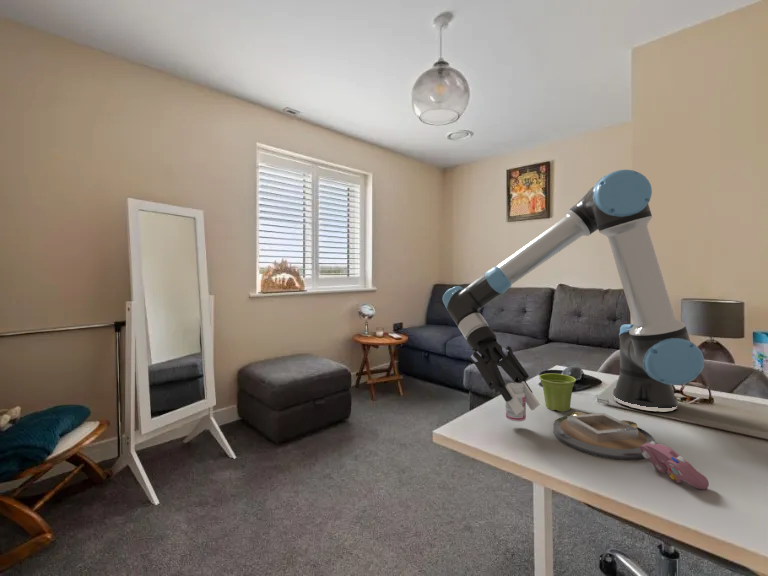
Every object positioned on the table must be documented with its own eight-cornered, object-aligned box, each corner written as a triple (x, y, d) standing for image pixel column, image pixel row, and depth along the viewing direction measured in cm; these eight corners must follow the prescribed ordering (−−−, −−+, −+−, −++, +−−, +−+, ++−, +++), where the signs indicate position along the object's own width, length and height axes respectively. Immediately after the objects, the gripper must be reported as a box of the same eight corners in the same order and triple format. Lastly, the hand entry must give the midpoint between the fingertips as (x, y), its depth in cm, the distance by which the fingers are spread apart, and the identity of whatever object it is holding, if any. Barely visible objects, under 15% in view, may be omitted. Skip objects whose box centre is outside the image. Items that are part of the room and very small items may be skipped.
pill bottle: (527, 422, 86) (526, 387, 86) (507, 421, 87) (506, 387, 87) (524, 414, 91) (523, 382, 91) (504, 414, 92) (503, 381, 92)
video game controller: (645, 471, 72) (631, 441, 71) (664, 459, 72) (650, 429, 71) (693, 501, 62) (676, 467, 61) (714, 488, 62) (698, 453, 62)
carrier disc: (606, 417, 94) (606, 404, 94) (680, 454, 74) (680, 437, 74) (536, 424, 91) (536, 410, 91) (593, 464, 71) (593, 446, 71)
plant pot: (554, 416, 96) (554, 384, 96) (532, 404, 105) (532, 374, 105) (584, 412, 98) (583, 380, 98) (559, 400, 108) (559, 372, 107)
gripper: (494, 337, 107) (543, 409, 93) (446, 345, 98) (493, 425, 84) (507, 321, 102) (561, 395, 88) (458, 327, 93) (510, 410, 79)
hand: (528, 409), depth 86 cm, fingers closed on pill bottle, 5 cm apart
